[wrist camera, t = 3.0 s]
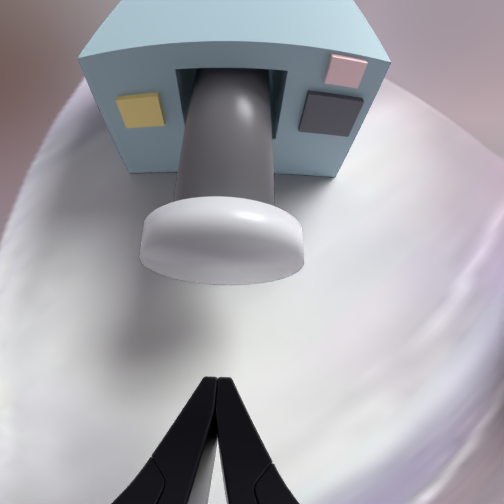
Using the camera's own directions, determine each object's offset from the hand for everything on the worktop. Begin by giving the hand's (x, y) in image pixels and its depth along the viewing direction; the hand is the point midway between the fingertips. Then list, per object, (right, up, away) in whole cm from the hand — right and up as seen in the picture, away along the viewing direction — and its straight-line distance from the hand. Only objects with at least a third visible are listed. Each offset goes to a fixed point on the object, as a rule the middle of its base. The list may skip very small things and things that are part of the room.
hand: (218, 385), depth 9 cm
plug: (0, +9, +8) cm, 12 cm away
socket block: (0, +15, +13) cm, 20 cm away
